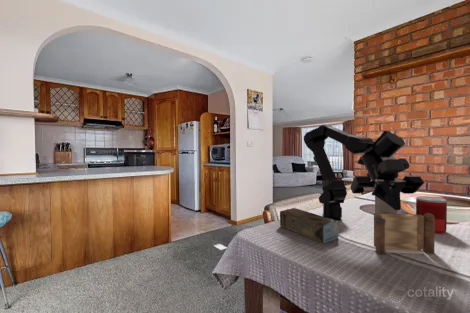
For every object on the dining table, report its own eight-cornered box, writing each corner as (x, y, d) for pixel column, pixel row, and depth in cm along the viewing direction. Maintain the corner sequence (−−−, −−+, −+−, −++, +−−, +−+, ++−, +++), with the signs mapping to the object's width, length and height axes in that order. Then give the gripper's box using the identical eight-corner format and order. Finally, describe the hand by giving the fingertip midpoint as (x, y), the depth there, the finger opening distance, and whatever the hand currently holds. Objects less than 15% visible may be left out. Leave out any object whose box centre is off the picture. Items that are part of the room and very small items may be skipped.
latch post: (376, 254, 60) (377, 220, 60) (374, 250, 62) (374, 217, 62) (386, 255, 60) (386, 220, 59) (383, 251, 62) (383, 218, 62)
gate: (420, 247, 62) (420, 214, 62) (423, 249, 61) (423, 216, 60) (373, 245, 63) (373, 213, 63) (376, 247, 62) (376, 214, 62)
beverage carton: (323, 245, 67) (323, 223, 67) (278, 227, 83) (278, 209, 83) (339, 239, 71) (339, 218, 71) (293, 223, 87) (293, 206, 87)
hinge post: (425, 253, 60) (426, 214, 60) (421, 249, 63) (421, 211, 62) (436, 254, 60) (436, 214, 59) (431, 250, 62) (431, 212, 62)
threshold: (386, 252, 61) (386, 250, 61) (380, 248, 64) (380, 246, 64) (424, 253, 60) (424, 252, 60) (417, 249, 63) (417, 247, 63)
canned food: (452, 234, 73) (452, 201, 73) (424, 233, 75) (424, 200, 74) (436, 226, 81) (436, 196, 80) (411, 225, 82) (411, 195, 82)
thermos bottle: (372, 214, 96) (372, 149, 96) (378, 211, 102) (378, 149, 101) (394, 218, 90) (394, 149, 90) (399, 214, 96) (399, 149, 95)
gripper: (355, 149, 68) (375, 193, 57) (420, 149, 66) (453, 193, 56) (343, 172, 76) (359, 214, 65) (401, 172, 74) (427, 215, 64)
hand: (398, 209), depth 62 cm, fingers closed
